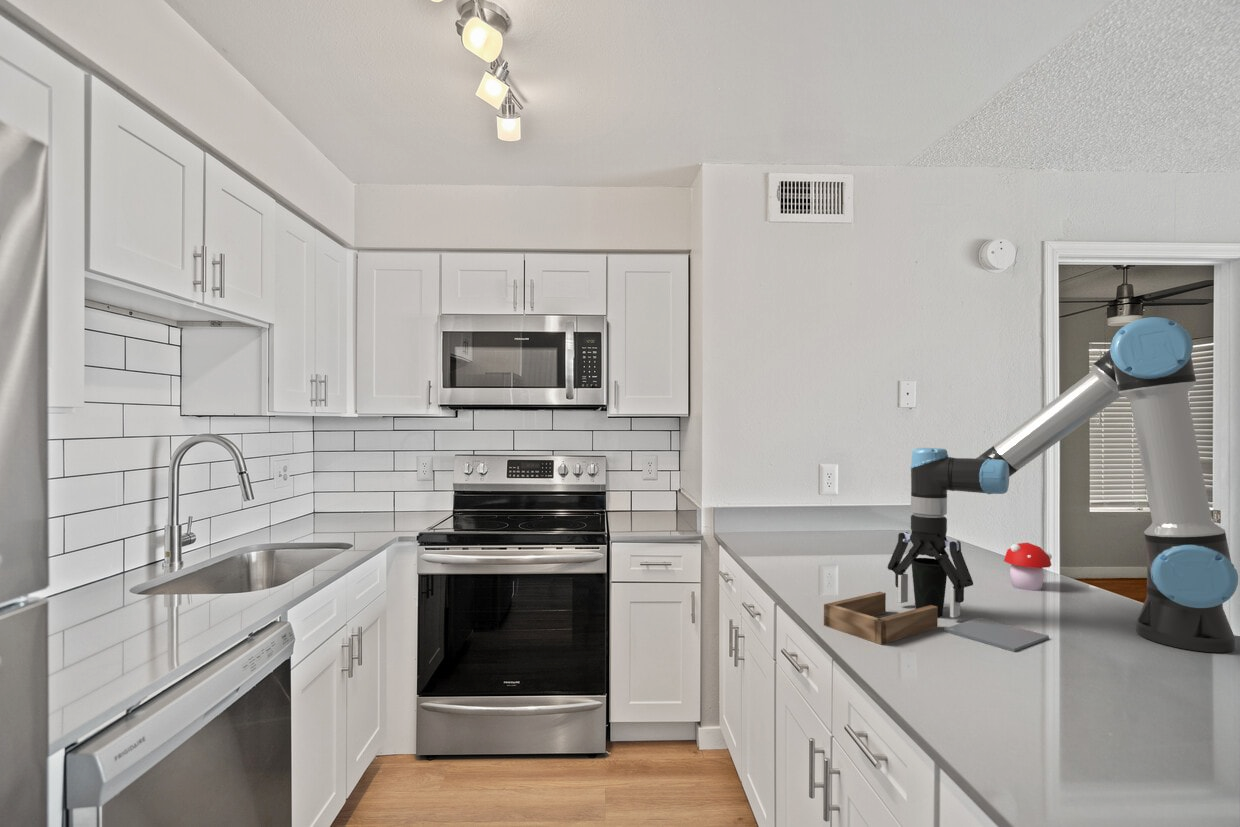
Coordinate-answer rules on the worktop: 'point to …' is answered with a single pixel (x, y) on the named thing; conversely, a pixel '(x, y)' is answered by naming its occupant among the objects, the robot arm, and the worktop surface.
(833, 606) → the wooden frame
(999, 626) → the coaster
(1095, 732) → the worktop surface
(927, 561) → the cup
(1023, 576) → the mushroom
